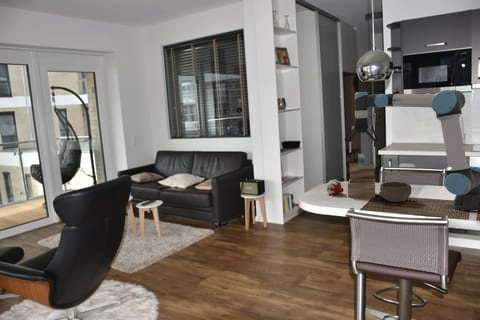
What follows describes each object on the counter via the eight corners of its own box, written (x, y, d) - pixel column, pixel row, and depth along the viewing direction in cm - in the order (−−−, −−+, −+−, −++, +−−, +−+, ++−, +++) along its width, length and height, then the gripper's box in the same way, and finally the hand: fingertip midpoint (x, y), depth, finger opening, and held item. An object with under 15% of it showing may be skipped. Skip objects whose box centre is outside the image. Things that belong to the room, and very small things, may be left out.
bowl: (375, 201, 236) (375, 185, 234) (386, 195, 249) (386, 180, 248) (405, 205, 225) (405, 188, 223) (414, 199, 238) (415, 183, 237)
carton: (374, 197, 245) (374, 183, 244) (347, 196, 250) (347, 183, 249) (375, 192, 258) (375, 179, 257) (349, 191, 263) (349, 178, 262)
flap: (373, 158, 240) (374, 154, 243) (348, 158, 246) (348, 154, 248) (374, 181, 255) (374, 176, 258) (350, 180, 261) (350, 176, 263)
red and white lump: (332, 189, 270) (348, 196, 257) (320, 192, 264) (336, 198, 251) (333, 177, 267) (350, 183, 255) (321, 179, 262) (337, 185, 249)
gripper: (383, 116, 239) (383, 151, 242) (341, 118, 248) (341, 151, 251) (382, 117, 233) (383, 152, 235) (339, 118, 241) (340, 152, 244)
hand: (361, 152), depth 243 cm, fingers open, 13 cm apart
